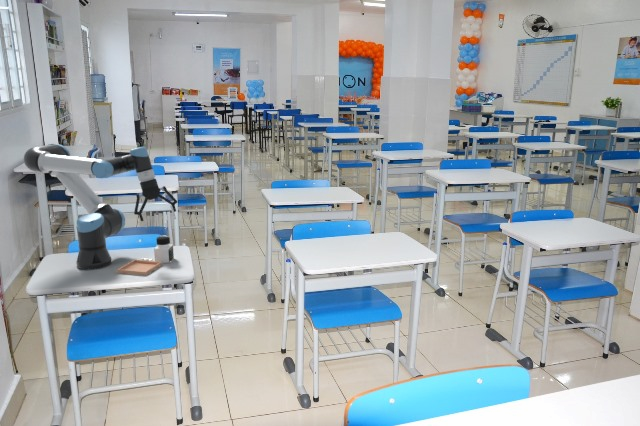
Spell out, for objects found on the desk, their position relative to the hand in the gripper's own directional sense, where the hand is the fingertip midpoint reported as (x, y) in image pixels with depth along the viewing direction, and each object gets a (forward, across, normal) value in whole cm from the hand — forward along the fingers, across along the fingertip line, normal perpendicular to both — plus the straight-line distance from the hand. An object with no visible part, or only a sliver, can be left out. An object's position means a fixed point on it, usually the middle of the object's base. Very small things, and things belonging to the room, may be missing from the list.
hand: (160, 223), depth 249 cm
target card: (+16, -12, +5) cm, 21 cm away
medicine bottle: (+18, -4, +2) cm, 19 cm away
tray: (+17, -15, -6) cm, 24 cm away
